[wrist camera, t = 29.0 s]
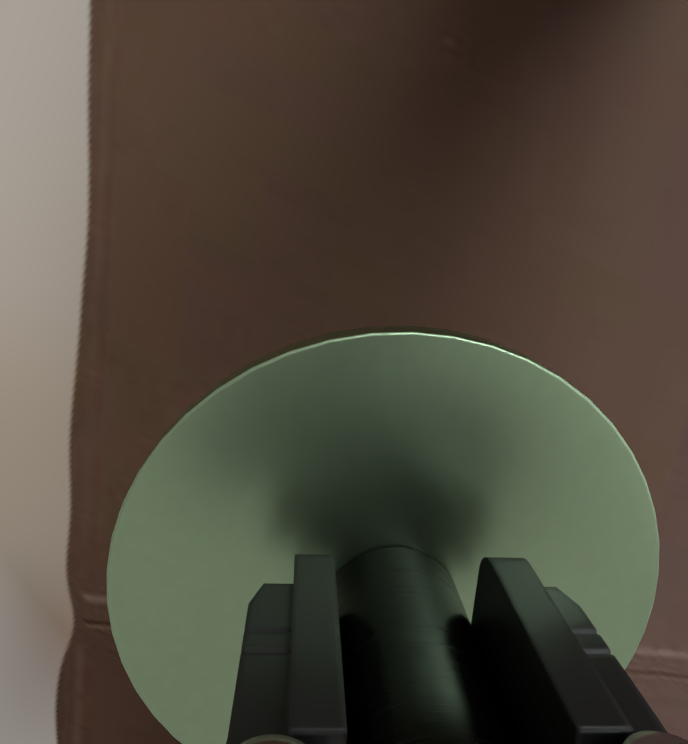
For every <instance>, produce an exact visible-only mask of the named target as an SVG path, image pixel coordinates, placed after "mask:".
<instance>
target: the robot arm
mask: <svg viewBox="0 0 688 744" xmlns="http://www.w3.org/2000/svg"><path fill="white" fill-rule="evenodd" d="M471 626H472V629H473V631H474V634H475V636H476V639H477V641H478V644H479V647H480V649H481V652H482V654H483V657H484V659H485V662H486V664H487V667H488V669H489V672H490V674H491V677H492V680H493V682H494V685H495V687H496V690H497V692H498V695H499V697H500V700H501V702H502V705H503V707H504V710H505V713H506V715H507V718H508V720H509V723H510V725H511V728H512V730H513V733H514V735H515V738H516V740H517V743H518V744H688V741H687V740H685V739H683V738H680V737H678V736H675V735H672V734H669V733H667V731H666V730H665V728H664V727H663V725H662V724H661V722H660V721H659V719H658V718H657V717H656V715H655V714H654V712H653V711H652V709H651V708H650V706H649V705H648V704H647V702H646V701H645V699H644V698H643V696H642V695H641V693H640V692H639V691H638V689H637V688H636V686H635V685H634V683H633V682H632V680H631V679H630V677H629V676H628V675H627V673H626V672H625V670H624V669H623V667H622V666H621V664H620V663H619V662H618V660H617V659H616V657H615V656H614V655H611V653H610V649H609V647H608V646H607V644H606V643H605V641H604V640H603V638H602V637H601V636H600V635H597V630H596V628H595V627H594V625H593V624H592V622H591V621H590V620H589V618H588V617H587V615H586V614H585V612H584V611H583V609H582V608H581V607H580V606H579V605H578V604H577V603H575V602H574V601H573V600H572V599H570V598H569V597H568V596H567V595H565V594H564V593H563V592H562V591H560V590H559V589H558V588H557V587H544V586H543V584H542V582H541V581H540V579H539V578H538V576H537V575H536V573H535V571H534V570H533V568H532V567H531V565H530V563H529V562H528V561H527V560H526V559H525V558H503V557H484V558H483V559H482V560H481V563H480V566H479V572H478V579H477V586H476V593H475V600H474V607H473V613H472V620H471ZM346 743H347V719H346V706H345V692H344V679H343V665H342V652H341V638H340V625H339V611H338V598H337V584H336V571H335V558H334V555H319V554H295V558H294V582H293V584H275V583H264V584H263V585H262V586H261V588H260V589H259V590H258V592H257V593H256V594H255V596H254V597H253V598H252V600H251V601H250V602H249V604H248V610H247V616H246V622H245V631H244V635H243V642H242V648H241V654H240V661H239V667H238V674H237V680H236V686H235V693H234V699H233V706H232V712H231V718H230V725H229V731H228V738H227V742H226V744H346Z"/></svg>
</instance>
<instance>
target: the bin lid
mask: <svg viewBox="0 0 688 744" xmlns="http://www.w3.org/2000/svg"><path fill="white" fill-rule="evenodd" d="M295 554H319V555H334V558H335V571H336V584H337V598H338V611H339V625H340V638H341V652H342V665H343V679H344V692H345V706H346V719H347V743H346V744H518V743H517V740H516V738H515V735H514V733H513V730H512V728H511V725H510V723H509V720H508V718H507V715H506V713H505V710H504V707H503V705H502V702H501V700H500V697H499V695H498V692H497V690H496V687H495V685H494V682H493V680H492V677H491V674H490V672H489V669H488V667H487V664H486V662H485V659H484V657H483V654H482V652H481V649H480V647H479V644H478V641H477V639H476V636H475V634H474V631H473V629H472V626H471V620H472V613H473V607H474V600H475V593H476V586H477V579H478V572H479V566H480V563H481V560H482V559H483V558H484V557H503V558H525V559H526V560H527V561H528V562H529V563H530V565H531V567H532V568H533V570H534V571H535V573H536V575H537V576H538V578H539V579H540V581H541V582H542V584H543V586H544V587H557V588H558V589H559V590H560V591H562V592H563V593H564V594H565V595H567V596H568V597H569V598H570V599H572V600H573V601H574V602H575V603H577V604H578V605H579V606H580V607H581V608H582V609H583V611H584V612H585V614H586V615H587V617H588V618H589V620H590V621H591V622H592V624H593V625H594V627H595V628H596V630H597V635H600V636H601V637H602V638H603V640H604V641H605V643H606V644H607V646H608V647H609V649H610V653H611V655H614V656H615V657H616V659H617V660H618V662H619V663H620V664H621V666H622V667H623V669H624V670H625V669H626V667H627V666H628V664H629V663H630V661H631V659H632V657H633V655H634V653H635V651H636V649H637V647H638V645H639V642H640V640H641V638H642V636H643V634H644V632H645V629H646V626H647V623H648V619H649V616H650V613H651V610H652V607H653V603H654V598H655V592H656V586H657V580H658V574H659V536H658V528H657V521H656V514H655V509H654V506H653V502H652V499H651V496H650V492H649V489H648V486H647V482H646V479H645V477H644V475H643V473H642V471H641V469H640V467H639V465H638V463H637V461H636V459H635V456H634V454H633V452H632V450H631V449H630V447H629V446H628V445H627V443H626V442H625V440H624V439H623V437H622V436H621V434H620V433H619V432H618V430H617V429H616V427H615V426H614V424H613V423H612V422H611V421H610V420H609V419H608V418H607V417H606V416H605V415H604V413H603V412H602V411H601V410H600V409H599V408H598V407H597V406H596V405H595V404H594V403H593V402H592V401H591V400H590V399H589V398H588V397H587V396H585V395H584V394H583V393H582V392H580V391H579V390H578V389H576V388H575V387H574V386H573V385H571V384H570V383H569V382H567V381H566V380H565V379H564V378H562V377H561V376H559V375H558V374H556V373H555V372H553V371H552V370H550V369H548V368H547V367H545V366H543V365H541V364H539V363H538V362H536V361H534V360H532V359H531V358H529V357H527V356H525V355H523V354H522V353H520V352H518V351H515V350H512V349H510V348H507V347H505V346H502V345H500V344H497V343H494V342H492V341H489V340H487V339H484V338H480V337H476V336H471V335H467V334H463V333H459V332H455V331H450V330H445V329H435V328H425V327H415V326H384V327H365V328H359V329H352V330H346V331H340V332H334V333H328V334H325V335H321V336H318V337H314V338H311V339H308V340H304V341H301V342H297V343H294V344H291V345H288V346H286V347H284V348H281V349H279V350H277V351H275V352H272V353H270V354H268V355H266V356H263V357H261V358H259V359H257V360H254V361H253V362H251V363H249V364H248V365H246V366H244V367H243V368H241V369H239V370H238V371H236V372H234V373H233V374H231V375H230V376H228V377H226V378H225V379H223V380H221V381H220V382H219V383H217V384H216V385H215V386H214V387H212V388H211V389H210V390H209V391H208V392H206V393H205V394H204V395H203V396H201V397H200V398H199V399H198V400H196V401H195V402H194V403H193V404H191V405H190V406H189V407H188V409H187V410H186V411H185V412H184V413H183V414H182V415H181V416H180V417H179V418H178V419H177V420H176V421H175V422H174V424H173V425H172V426H171V427H170V428H169V429H168V430H167V431H166V432H165V434H164V435H163V436H162V438H161V439H160V441H159V442H158V444H157V445H156V446H155V448H154V449H153V451H152V452H151V454H150V455H149V456H148V458H147V459H146V461H145V462H144V464H143V465H142V467H141V468H140V470H139V471H138V473H137V475H136V477H135V479H134V481H133V483H132V485H131V487H130V489H129V491H128V493H127V495H126V497H125V499H124V501H123V503H122V506H121V509H120V512H119V515H118V519H117V522H116V525H115V528H114V531H113V534H112V539H111V545H110V552H109V558H108V564H107V605H108V611H109V617H110V624H111V630H112V635H113V638H114V641H115V644H116V647H117V650H118V653H119V656H120V659H121V662H122V664H123V666H124V668H125V670H126V672H127V674H128V676H129V678H130V680H131V682H132V684H133V686H134V688H135V690H136V692H137V693H138V694H139V696H140V697H141V699H142V700H143V701H144V703H145V704H146V706H147V707H148V709H149V710H150V711H151V713H152V714H153V715H154V717H155V718H156V719H157V720H158V721H159V722H160V723H161V724H162V725H163V726H164V727H165V728H166V729H167V730H168V731H169V733H170V734H171V735H172V736H173V737H174V738H175V739H177V740H178V741H179V742H180V743H182V744H226V742H227V738H228V731H229V725H230V718H231V712H232V706H233V699H234V693H235V686H236V680H237V674H238V667H239V661H240V654H241V648H242V642H243V635H244V631H245V622H246V616H247V610H248V604H249V602H250V601H251V600H252V598H253V597H254V596H255V594H256V593H257V592H258V590H259V589H260V588H261V586H262V585H263V584H264V583H275V584H293V582H294V558H295Z"/></svg>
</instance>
